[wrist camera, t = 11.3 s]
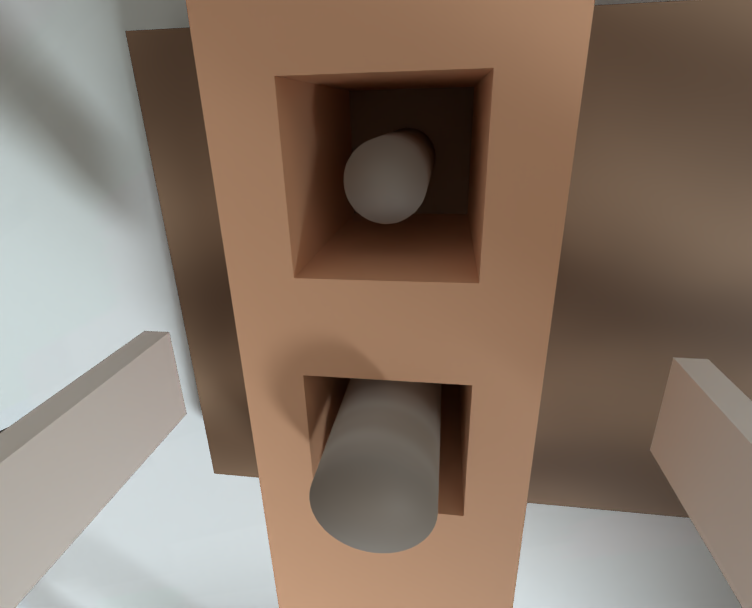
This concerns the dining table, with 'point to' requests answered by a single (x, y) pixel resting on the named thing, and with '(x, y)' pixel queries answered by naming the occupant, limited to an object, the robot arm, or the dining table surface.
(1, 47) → the dining table surface
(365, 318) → the block
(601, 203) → the post base
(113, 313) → the dining table surface
